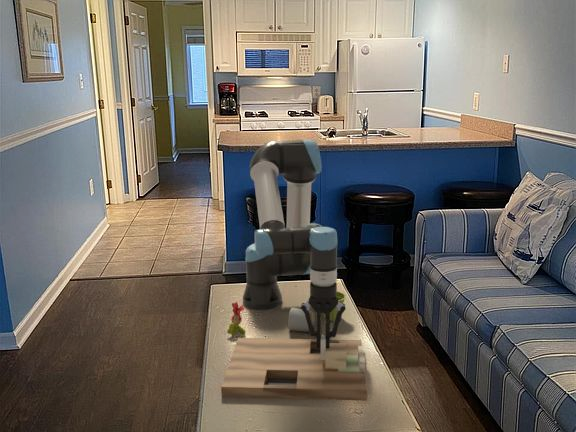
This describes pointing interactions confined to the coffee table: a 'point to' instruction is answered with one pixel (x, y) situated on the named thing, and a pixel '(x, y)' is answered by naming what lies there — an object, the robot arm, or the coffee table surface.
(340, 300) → the plant pot
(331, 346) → the maple block
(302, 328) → the ceramic mug
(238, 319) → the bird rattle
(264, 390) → the board
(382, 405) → the coffee table surface
